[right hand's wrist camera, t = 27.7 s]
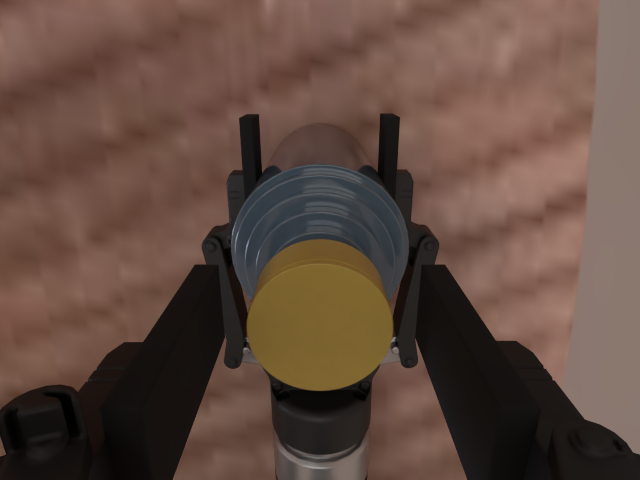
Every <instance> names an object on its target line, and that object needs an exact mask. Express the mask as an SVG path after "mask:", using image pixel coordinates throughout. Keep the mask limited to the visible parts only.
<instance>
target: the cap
mask: <svg viewBox="0 0 640 480" xmlns="http://www.w3.org/2000/svg"><path fill="white" fill-rule="evenodd" d="M393 331H394V327H393V316H392V312H391V309H390V305H389V302H388V299H387V295H386V292H385V289H384V286H383V282H382V279H381V277H380V275H379V272H378V270H377V269H376V267H375V266H374V265H373V263H372V262H371V261H370V260H369V259H368V258H367V257H366V256H365V255H364V254H363V253H361V252H360V251H358V250H357V249H355V248H354V247H351V246H349V245H347V244H345V243H341V242H338V241H333V240H327V239H314V240H307V241H302V242H299V243H296V244H293V245H291V246H289V247H286V248H285V249H283V250H282V251H280V252H279V253H277V254H276V255H275V256H274V257H273V258H272V259H271V260H270V261H269V262H268V263H267V265H266V266H265V267H264V269H263V270H262V273H261V275H260V277H259V279H258V283H257V286H256V289H255V292H254V296H253V299H252V302H251V306H250V309H249V312H248V317H247V337H248V341H249V345H250V348H251V350H252V352H253V354H254V356H255V357H256V359H257V360H258V362H259V363H260V364H261V365H262V367H263V368H264V369H265V370H266V371H268V372H269V373H270V374H271V375H272V376H274V377H275V378H277V379H278V380H280V381H282V382H284V383H286V384H288V385H291V386H293V387H297V388H301V389H306V390H314V391H326V390H334V389H339V388H343V387H347V386H349V385H352V384H354V383H356V382H358V381H360V380H362V379H363V378H365V377H366V376H368V375H369V374H370V373H371V372H373V371H374V370H375V369H376V368H377V367H378V365H379V364H380V363H381V362H382V361H383V359H384V357H385V356H386V354H387V352H388V350H389V348H390V345H391V342H392V338H393Z"/></svg>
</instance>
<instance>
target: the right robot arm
mask: <svg viewBox="0 0 640 480" xmlns="http://www.w3.org/2000/svg"><path fill="white" fill-rule="evenodd" d="M224 338H225V333H224V321H223V310H222V299H221V288H220V276H219V265H195V266H194V267H193V269H192V270H191V272H190V273H189V275H188V276H187V277H186V279H185V280H184V282H183V283H182V285H181V286H180V288H179V289H178V291H177V292H176V294H175V295H174V297H173V298H172V300H171V301H170V303H169V304H168V306H167V307H166V309H165V310H164V312H163V313H162V315H161V316H160V318H159V319H158V321H157V322H156V324H155V325H154V327H153V328H152V330H151V331H150V333H149V334H148V336H147V337H146V339H145V340H144V342H124V343H123V344H121V345H120V346H118V347H117V348H115V349H114V350H112V351H111V352H110V353H108V354H107V355H106V356H105V358H104V359H103V360H102V362H101V363H100V364H99V366H98V367H97V370H95V371H94V372H93V373H92V375H91V376H90V377H89V379H88V382H85V384H84V385H83V386H82V388H81V389H80V390H79V392H77V391H76V390H75V389H74V388H73V387H70V386H65V385H51V386H44V387H41V388H37V389H34V390H30V391H28V392H26V393H24V394H22V395H20V396H18V397H16V398H14V399H13V400H12V401H10V402H9V403H8V404H6V405H5V406H4V407H2V409H1V410H0V437H1V440H2V443H3V446H4V449H5V452H6V455H4V456H1V457H0V480H173V477H174V474H175V471H176V469H177V466H178V463H179V461H180V458H181V455H182V452H183V450H184V447H185V444H186V442H187V439H188V436H189V433H190V431H191V428H192V425H193V422H194V420H195V417H196V414H197V412H198V409H199V406H200V403H201V401H202V398H203V395H204V392H205V390H206V387H207V384H208V382H209V379H210V376H211V373H212V371H213V368H214V365H215V362H216V360H217V357H218V354H219V352H220V349H221V346H222V343H223V341H224ZM415 338H416V341H417V343H418V346H419V349H420V352H421V354H422V357H423V360H424V362H425V365H426V368H427V371H428V373H429V376H430V379H431V382H432V384H433V387H434V390H435V392H436V395H437V398H438V401H439V403H440V406H441V409H442V412H443V414H444V417H445V420H446V422H447V425H448V428H449V431H450V433H451V436H452V439H453V442H454V444H455V447H456V450H457V452H458V455H459V458H460V461H461V463H462V466H463V469H464V471H465V474H466V477H467V480H640V455H639V454H636V453H633V452H632V450H631V449H630V448H629V446H628V444H627V443H626V442H625V441H624V440H623V439H621V438H620V437H619V436H618V435H617V434H616V433H614V432H612V431H611V430H609V429H607V428H605V427H603V426H602V425H600V424H597V423H593V422H590V421H587V420H585V419H584V418H583V417H582V415H581V414H580V413H579V412H578V410H577V409H576V408H575V406H574V405H573V404H572V402H571V401H570V400H569V399H568V397H567V396H566V395H565V393H564V392H563V391H562V390H561V388H560V387H559V386H558V384H557V383H556V382H555V381H553V380H552V377H551V375H550V374H549V373H548V372H547V370H546V369H544V368H543V365H542V364H541V362H540V361H539V360H538V359H537V357H536V356H535V355H534V353H533V352H531V351H530V350H528V349H527V348H525V347H524V346H523V345H521V344H520V343H518V342H517V341H496V340H495V339H494V337H493V336H492V334H491V333H490V331H489V330H488V328H487V327H486V325H485V324H484V322H483V321H482V319H481V318H480V316H479V315H478V313H477V312H476V310H475V309H474V307H473V306H472V304H471V303H470V301H469V300H468V298H467V297H466V295H465V294H464V292H463V291H462V289H461V288H460V286H459V285H458V283H457V282H456V280H455V279H454V277H453V276H452V275H451V273H450V272H449V270H448V269H447V267H446V266H445V265H421V276H420V288H419V299H418V310H417V321H416V333H415Z"/></svg>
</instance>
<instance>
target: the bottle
mask: <svg viewBox="0 0 640 480" xmlns="http://www.w3.org/2000/svg"><path fill="white" fill-rule="evenodd" d="M314 239H327V240H333V241H338V242H341V243H345V244H347V245H349V246H351V247H354V248H355V249H357V250H358V251H360V252H361V253H363V254H364V255H365V256H366V257H367V258H368V259H369V260H370V261H371V262H372V263H373V265H374V266H375V267H376V269H377V270H378V272H379V275H380V277H381V279H382V282H383V286H384V289H385V292H386V295H387V299H388V301H389V299H390V298H391V297H392V295H393V294H394V292H395V290H396V289H397V287H398V285H399V283H400V281H401V279H402V277H403V275H404V272H405V269H406V265H407V260H408V254H409V240H408V232H407V228H406V224H405V221H404V218H403V216H402V214H401V212H400V209H399V208H398V206H397V205H396V203H395V201H394V200H393V198H392V196H391V195H390V193H389V191H388V190H387V188H386V186H385V185H384V183H383V181H382V180H381V178H380V176H379V175H378V173H377V171H376V170H375V168H374V167H373V165H372V163H371V162H370V160H369V158H368V157H367V155H366V153H365V152H364V150H363V148H362V147H361V145H360V144H359V142H358V141H357V140H356V139H355V138H354V137H353V136H352V135H351V134H350V133H348V132H347V131H345V130H343V129H341V128H339V127H337V126H334V125H329V124H311V125H306V126H303V127H301V128H299V129H297V130H295V131H293V132H292V133H290V134H289V135H288V136H287V137H286V138H285V139H284V140H283V141H282V142H281V143H280V145H279V147H278V148H277V150H276V152H275V153H274V155H273V156H272V158H271V160H270V161H269V163H268V165H267V166H266V168H265V170H264V171H263V173H262V175H261V176H260V178H259V180H258V181H257V183H256V185H255V186H254V188H253V190H252V191H251V193H250V195H249V196H248V198H247V200H246V201H245V203H244V205H243V206H242V208H241V209H240V212H239V214H238V216H237V218H236V221H235V224H234V228H233V232H232V240H231V254H232V260H233V265H234V269H235V272H236V275H237V277H238V279H239V281H240V283H241V285H242V287H243V289H244V290H245V292H246V294H247V295H248V297H249V298H250V299H251V301H252V299H253V296H254V292H255V289H256V286H257V283H258V279H259V277H260V275H261V273H262V270H263V269H264V267H265V266H266V265H267V263H268V262H269V261H270V260H271V259H272V258H273V257H274V256H275V255H276V254H277V253H279V252H280V251H282V250H283V249H285V248H286V247H289V246H291V245H293V244H296V243H299V242H302V241H307V240H314Z"/></svg>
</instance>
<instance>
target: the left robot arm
mask: <svg viewBox="0 0 640 480" xmlns="http://www.w3.org/2000/svg"><path fill="white" fill-rule="evenodd" d="M239 123H240V137H241V152H242V166H243V170H233V172H232V173H231V174H230V175H229V177H228V180H227V192H228V193H227V194H228V206H229V218H230V222H229V223H227V224H225V225H222V226H215V227H213V228H212V230H211V231H210V232H209V234H208V235H207V237H206V238H205V239H204V241H203V243H202V250H203V254H204V257H205V261H206V265H219V276H220V288H221V299H222V310H223V321H224V331H225V335H226V339H227V343H226V350H225V357H224V363H225V365H226V366H227V367H228V368H231V369H235V368H238V367H239V366H240V365H241V362H247V363H253V364H259V365H261V364H260V363H259V362H258V360H257V359H256V357H255V356H254V354H253V352H252V350H251V348H250V345H249V341H248V337H247V317H248V312H247V308H246V304H245V300H244V296H243V292H242V287H241V283H240V281H239V279H238V277H237V275H236V272H235V269H234V265H233V260H232V254H231V240H232V232H233V228H234V224H235V221H236V218H237V216H238V214H239V212H240V209H241V208H242V206H243V205H244V203H245V201H246V200H247V198H248V196H249V195H250V193H251V191H252V190H253V188H254V186H255V185H256V183H257V181H258V180H259V178H260V176H261V175H262V165H261V146H260V128H259V114H247V115H245V116H243V117H241V118H239ZM399 123H400V117H398V116H396V115H394V114H380V133H379V157H378V175H379V176H380V178H381V180H382V181H383V183H384V185H385V186H386V188H387V190H388V191H389V193H390V195H391V196H392V198H393V200H394V201H395V203H396V205H397V206H398V208H399V209H400V212H401V214H402V216H403V218H404V221H405V224H406V228H407V232H408V240H409V254H408V260H407V265H406V269H405V272H404V275H403V277H402V279H401V284H400V288H399V292H398V296H397V301H396V305H395V309H394V314H393V327H394V331H393V338H392V342H391V345H390V348H389V350H388V352H387V354H386V356H385V357H384V359H383V361H382V362H381V363H380V364H379V365H378V367H377V368H376V369H375V370H374V371H373V372H371V373H370V374H369V375H368V376H366V377H365V378H363V379H362V380H360V381H358V382H356V383H354V384H352V385H349V386H347V387H343V388H339V389H334V390H326V391H314V390H306V389H301V388H297V387H293V386H291V385H288V384H286V383H284V382H282V381H280V380H278V379H277V378H275V377H274V376H272V375H271V374H270V373H269V372H268V371H266V370H265V369H264V368H263V369H264V371H265V372H266V373H267V375H268V377H269V379H270V385H271V404H272V421H273V426H274V429H273V440H274V454H275V468H276V469H275V472H276V480H367V472H368V463H369V438H370V427H369V425H370V413H371V390H372V379H373V376H374V374H375V373H376V372H377V370H378V369H379V366H380V365H381V364H387V363H393V362H398V361H401V364H402V366H404V367H406V368H412V367H414V366H416V365H417V363H418V356H417V350H416V343H415V333H416V321H417V310H418V299H419V288H420V276H421V265H434V264H435V260H436V256H437V252H438V248H439V242H438V240H437V239H436V237H435V236H434V235H433V233H432V232H431V230H430V229H429V228H428V227H427V226H426V225H418V224H415V223H413V222H411V209H412V195H413V180H412V177H411V174H410V173H409V172H408V171H407V170H397V159H398V141H399Z"/></svg>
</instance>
